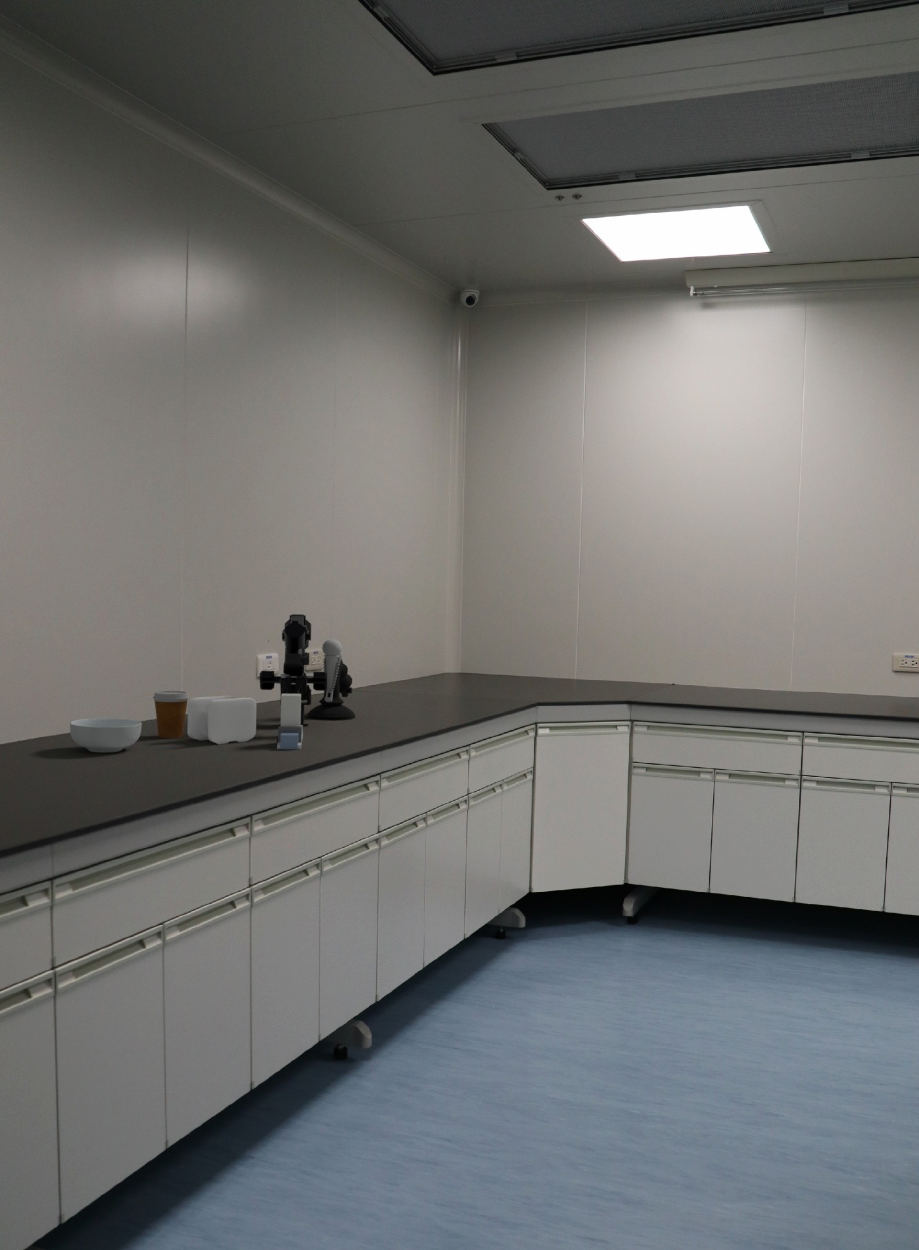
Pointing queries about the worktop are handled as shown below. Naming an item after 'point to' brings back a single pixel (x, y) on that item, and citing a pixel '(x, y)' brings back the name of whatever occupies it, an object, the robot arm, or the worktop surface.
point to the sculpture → (334, 686)
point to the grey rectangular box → (290, 709)
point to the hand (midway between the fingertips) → (292, 704)
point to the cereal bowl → (105, 733)
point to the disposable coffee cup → (170, 712)
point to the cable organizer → (222, 719)
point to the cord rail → (290, 737)
